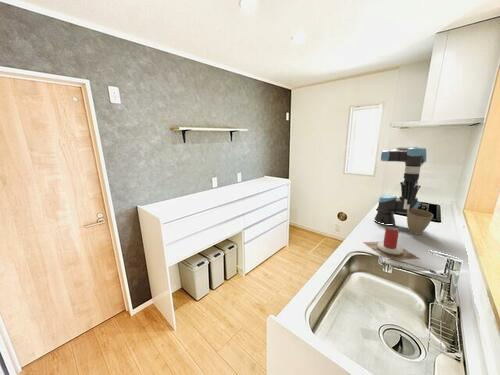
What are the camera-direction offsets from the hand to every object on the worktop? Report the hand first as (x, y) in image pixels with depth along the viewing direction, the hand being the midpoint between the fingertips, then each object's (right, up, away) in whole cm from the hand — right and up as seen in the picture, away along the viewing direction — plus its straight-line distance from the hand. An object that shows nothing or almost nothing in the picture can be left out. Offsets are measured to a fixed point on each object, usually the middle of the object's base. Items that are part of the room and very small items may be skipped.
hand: (406, 208), depth 132 cm
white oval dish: (-14, -24, -6) cm, 28 cm away
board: (-17, -26, -8) cm, 32 cm away
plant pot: (+23, -20, +21) cm, 37 cm away
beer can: (-17, -23, -8) cm, 29 cm away
